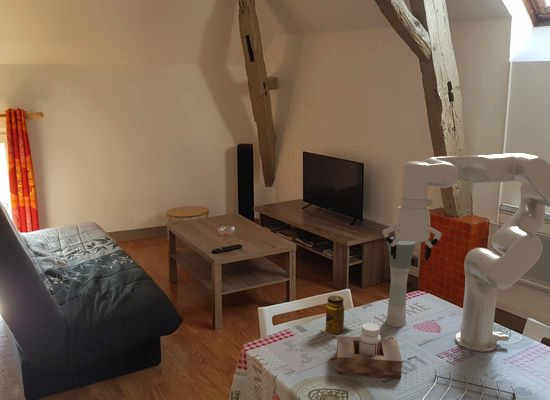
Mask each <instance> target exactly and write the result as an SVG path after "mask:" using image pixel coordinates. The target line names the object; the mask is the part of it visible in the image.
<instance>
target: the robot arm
mask: <svg viewBox="0 0 550 400" xmlns="http://www.w3.org/2000/svg"><path fill="white" fill-rule="evenodd" d="M401 181H402V183H401V195H400V197H401V198H400V199H401V200H400V205H399V206H397V209H396V212H395V217H394V219H395V220H394V224H393V225H392V226H390V227H387V228H385V229H383V230H382V235H383V236H384V239H385V240H386V242H387V241H388V243H389V244H390V245H391V252H390V255H391V256H392V257H393V259H396V244H397V243H398V242H399V241H416V243H418V242H419V243H420V242H421V243H423V242H424V243H425V244H426V245H425V246H424V254H423V255H424V259H425V261H427V262H428V261H429V258H431V255H432V248H433V247H434V246H435V245H437V243H438V242H439V240H440V239H441V238H442V236H443V233H442V232H440V231H438V230H437V229H435V228H433V227H431V215H430V207H428V206H430V205H431V206H432V205H433V199H431V200H430V199H429V198H428V196H429V187H435V188H442V189H443V188H445V189H446V188H450V187H452V186H454V185H455V184H456V183H457V182H458V181H461V182H467V183H473V184H482V185H486V184H487V185H488V184H495V183H506V182H520V183H521V184H520V191H519V192H520V204H519V206H518V209H517V210H516V212H514V213H513V215H512V216H511V217H510V218H509V219H508V220H507V221H506V222H505V223H504V224H502V226H501V227H500V228H499V229H498V230H497V231H496V232H495V233H494V234H493V235H492V237H491V245H492V248H493V249H495V250H496V251H497V252H498V253H500V254H502V255H500V254H498V253H496V252H494V251H492V250H490V249H487V248H485V247H475V248H473V249H471V250H470V251H468V252H467V254H466V256H465V257H464V258H465V259H464V262H463V263H464V268H463V269H464V277H465V280H464V281H465V282H464V285H465V286H464V297H463V306H462V315H461V317H462V318H461V327H460V331H458V332H457V333H456V334H455V337H454V338H455V341H456V343H457V344H458V345H459V346H461V347H462V348H465V349H467V350H471V351H474V352H482V353H484V352H492V351H494V350H496V349H497V345H498V343H497V342H498V341H503V342H509V335H508V334H502V332H501V331H494V325H495V324H494V323H495V314H496V313H495V312H496V305H497V296H498V291H497V290H506V289H508V288H510V287H512V286H513V285H514V284H515V283H517V282H518V281H519V280H520V279H521V278H522V277H524V275H525V274H526V273H527V272H528V271H529V270H530V269H531V268H532V267H533V266H534V265H535V264H536V263H537V262H538V260H539V259H540V257H541V255H542V253H543V245H544V244H543V242H542V240H541V238H540V237H539V236H538V235H536V233H537V232H538V231H539V230H540V229H542V226H543V225H544V223H545V219H546V207H549V208H550V162H548V161H547V160H546V159H544V158H542V157H541V156H538V155H533V154H527V153H520V152H515V153H513V152H511V153H502V154H501V153H500V154H487V155H460V156H459V155H458V156H457V155H455V156H451V155H449V156H434V157H428V158H426V159H423V160H422V161H419V160H418V161H416V160H413V161H410V160H409V161H407V162H405V163H404V165H403V168H402V180H401ZM390 233H393V235H394V236H393V237H394V238H393V239H391V237H390V235H389V234H390ZM431 233H432V234H433V235H434V237H433V238H432V239H431V240H430V238H431V237H430V236H431Z"/></svg>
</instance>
